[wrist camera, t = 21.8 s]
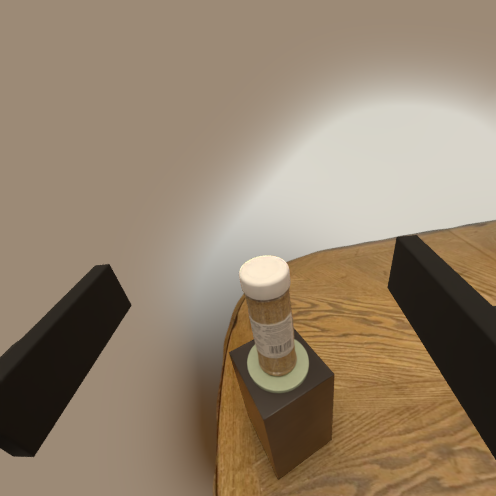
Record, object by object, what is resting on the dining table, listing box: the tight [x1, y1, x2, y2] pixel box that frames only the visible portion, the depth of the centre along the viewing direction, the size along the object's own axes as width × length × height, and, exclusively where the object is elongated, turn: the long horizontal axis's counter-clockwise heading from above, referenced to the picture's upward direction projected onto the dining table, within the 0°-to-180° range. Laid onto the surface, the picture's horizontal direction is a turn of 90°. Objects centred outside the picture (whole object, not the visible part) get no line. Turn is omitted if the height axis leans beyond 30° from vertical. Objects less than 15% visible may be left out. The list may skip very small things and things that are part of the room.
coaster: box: [247, 339, 309, 393], centre depth 29 cm, size 7×7×1 cm
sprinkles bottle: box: [239, 256, 297, 376], centre depth 26 cm, size 5×5×14 cm
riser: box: [229, 329, 334, 479], centre depth 33 cm, size 9×9×16 cm
